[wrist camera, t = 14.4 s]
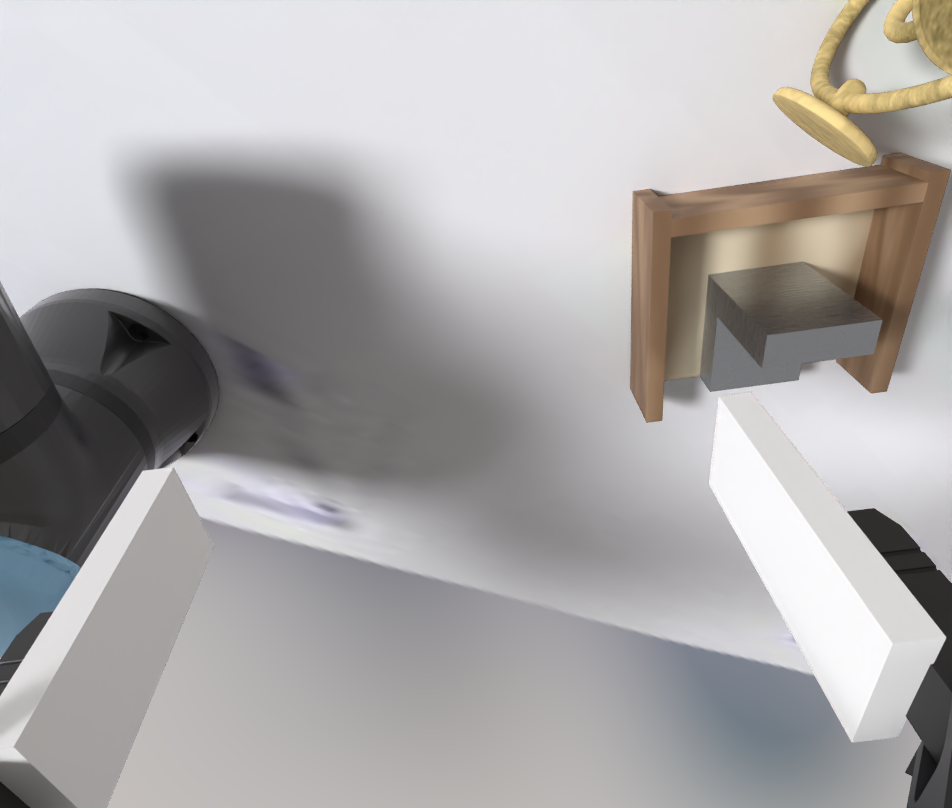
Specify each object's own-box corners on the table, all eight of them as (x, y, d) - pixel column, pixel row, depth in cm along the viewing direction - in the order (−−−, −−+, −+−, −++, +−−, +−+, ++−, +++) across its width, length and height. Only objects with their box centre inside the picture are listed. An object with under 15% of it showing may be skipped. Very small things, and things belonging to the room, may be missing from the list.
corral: (630, 388, 52) (646, 422, 48) (632, 191, 43) (653, 212, 38) (850, 359, 51) (886, 391, 47) (900, 153, 42) (950, 169, 38)
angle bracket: (708, 274, 46) (767, 335, 38) (802, 261, 46) (882, 319, 37) (699, 376, 51) (749, 450, 43) (784, 365, 51) (851, 437, 42)
